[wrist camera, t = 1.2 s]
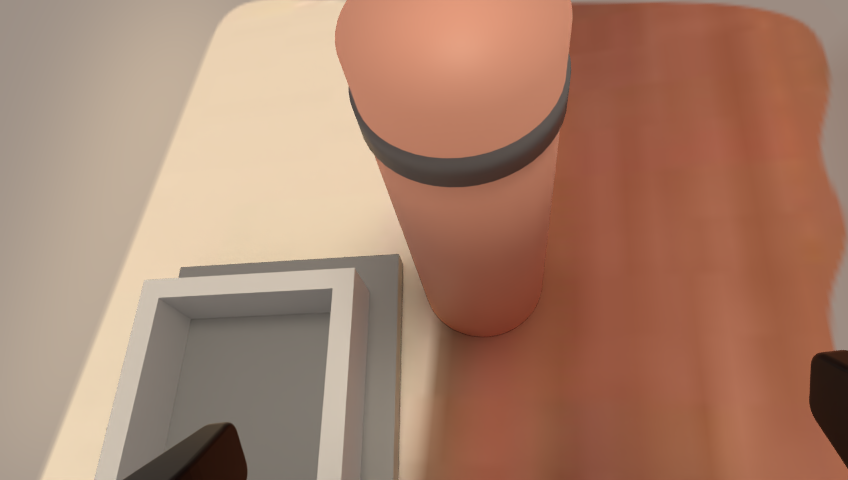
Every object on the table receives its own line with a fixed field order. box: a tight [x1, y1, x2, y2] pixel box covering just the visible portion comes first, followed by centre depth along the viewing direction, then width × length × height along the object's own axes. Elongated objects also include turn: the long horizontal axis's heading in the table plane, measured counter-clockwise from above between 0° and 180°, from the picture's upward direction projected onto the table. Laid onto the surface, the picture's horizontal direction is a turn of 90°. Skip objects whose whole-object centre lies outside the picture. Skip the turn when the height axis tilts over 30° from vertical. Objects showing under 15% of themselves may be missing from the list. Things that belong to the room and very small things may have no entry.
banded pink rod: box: [335, 0, 573, 337], centre depth 18 cm, size 5×5×14 cm
